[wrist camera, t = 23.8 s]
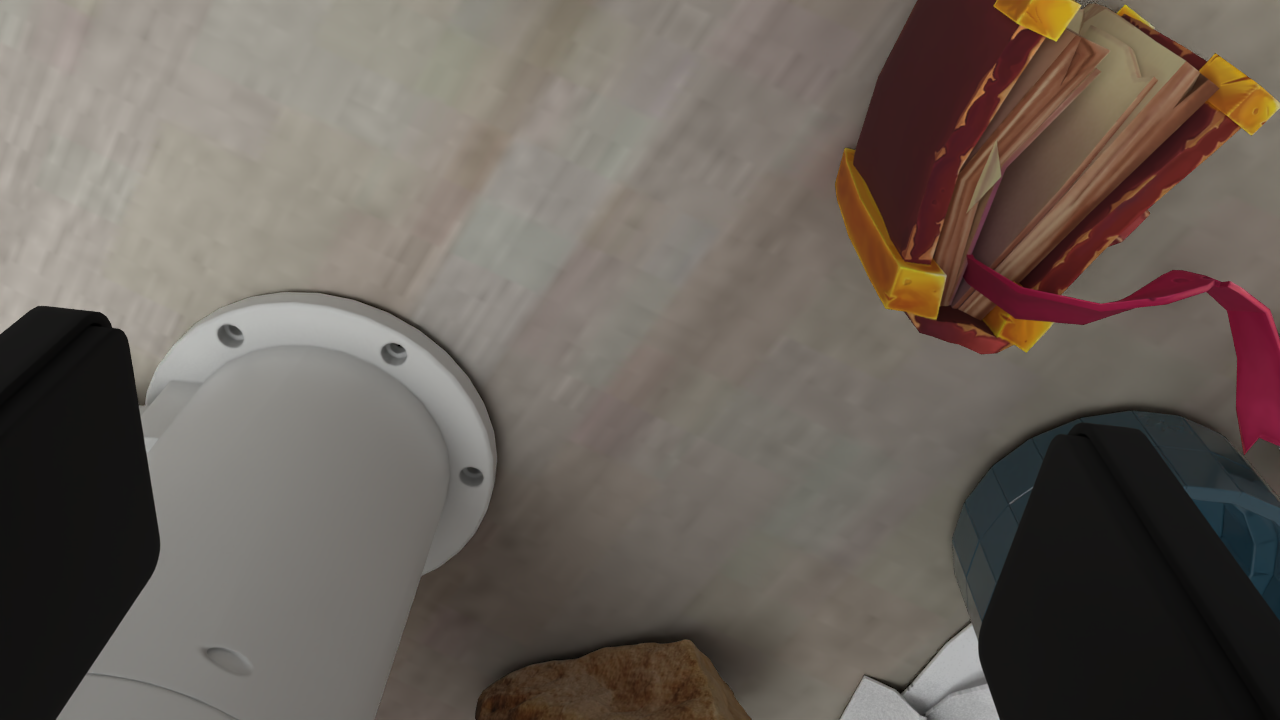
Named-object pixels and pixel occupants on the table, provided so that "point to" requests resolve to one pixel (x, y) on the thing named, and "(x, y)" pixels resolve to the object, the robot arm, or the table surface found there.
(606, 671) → the decorative rock
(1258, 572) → the bowl
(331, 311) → the robot arm
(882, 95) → the book monster
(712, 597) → the table surface
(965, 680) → the cloth
